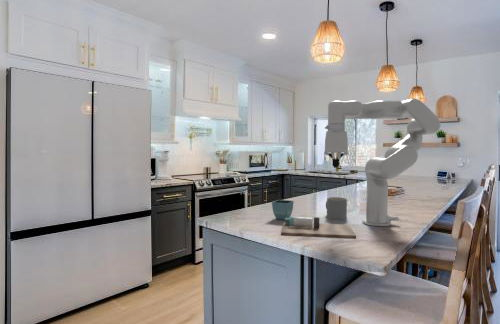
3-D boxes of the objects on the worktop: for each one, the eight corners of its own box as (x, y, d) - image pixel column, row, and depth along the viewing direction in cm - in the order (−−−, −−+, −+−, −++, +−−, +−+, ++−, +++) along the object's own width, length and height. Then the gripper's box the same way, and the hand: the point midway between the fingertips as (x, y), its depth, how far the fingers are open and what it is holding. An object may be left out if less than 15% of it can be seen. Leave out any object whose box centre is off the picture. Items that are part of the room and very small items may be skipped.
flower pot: (271, 219, 159) (271, 202, 159) (278, 216, 167) (278, 199, 167) (287, 221, 155) (287, 203, 155) (293, 218, 163) (293, 200, 163)
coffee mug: (350, 219, 160) (350, 199, 160) (332, 220, 158) (332, 200, 158) (337, 213, 174) (337, 195, 173) (320, 214, 171) (321, 196, 171)
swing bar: (289, 225, 142) (289, 217, 142) (290, 224, 144) (290, 216, 144) (312, 226, 139) (312, 218, 139) (312, 225, 142) (312, 217, 141)
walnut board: (349, 227, 145) (349, 215, 144) (356, 238, 127) (356, 225, 127) (283, 224, 149) (283, 213, 149) (281, 234, 132) (281, 222, 131)
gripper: (320, 127, 144) (319, 168, 145) (354, 127, 142) (353, 168, 142) (319, 128, 151) (318, 167, 152) (351, 128, 149) (351, 167, 150)
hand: (335, 167), depth 147 cm, fingers closed
